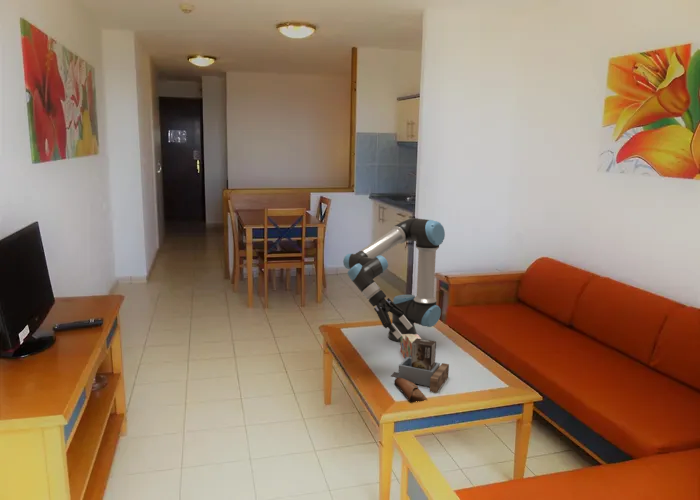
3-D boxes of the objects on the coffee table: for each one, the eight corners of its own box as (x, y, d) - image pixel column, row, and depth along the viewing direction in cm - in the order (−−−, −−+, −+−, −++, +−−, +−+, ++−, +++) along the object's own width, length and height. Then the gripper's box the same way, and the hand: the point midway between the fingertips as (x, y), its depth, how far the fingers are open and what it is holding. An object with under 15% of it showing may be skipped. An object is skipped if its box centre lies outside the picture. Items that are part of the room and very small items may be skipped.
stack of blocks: (399, 351, 270) (400, 328, 268) (412, 351, 271) (413, 327, 269) (410, 368, 249) (411, 343, 247) (423, 368, 250) (425, 342, 248)
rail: (394, 372, 244) (394, 371, 244) (437, 381, 236) (437, 380, 236) (390, 376, 240) (390, 375, 240) (434, 385, 232) (434, 385, 231)
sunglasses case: (429, 400, 217) (422, 387, 215) (415, 410, 216) (407, 397, 214) (412, 382, 234) (405, 370, 232) (398, 391, 233) (391, 379, 231)
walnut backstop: (441, 375, 242) (442, 363, 241) (448, 377, 241) (448, 364, 239) (429, 391, 226) (430, 377, 225) (436, 392, 224) (437, 379, 223)
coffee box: (434, 376, 237) (436, 341, 234) (430, 381, 231) (432, 345, 228) (415, 372, 241) (416, 337, 238) (410, 377, 235) (411, 342, 232)
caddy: (406, 371, 245) (407, 356, 244) (439, 377, 239) (439, 363, 237) (398, 379, 235) (398, 365, 234) (431, 386, 229) (432, 371, 228)
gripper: (379, 293, 252) (408, 329, 249) (357, 306, 230) (389, 346, 227) (390, 283, 249) (420, 319, 246) (369, 296, 227) (401, 336, 223)
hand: (405, 332), depth 236 cm, fingers open, 13 cm apart
